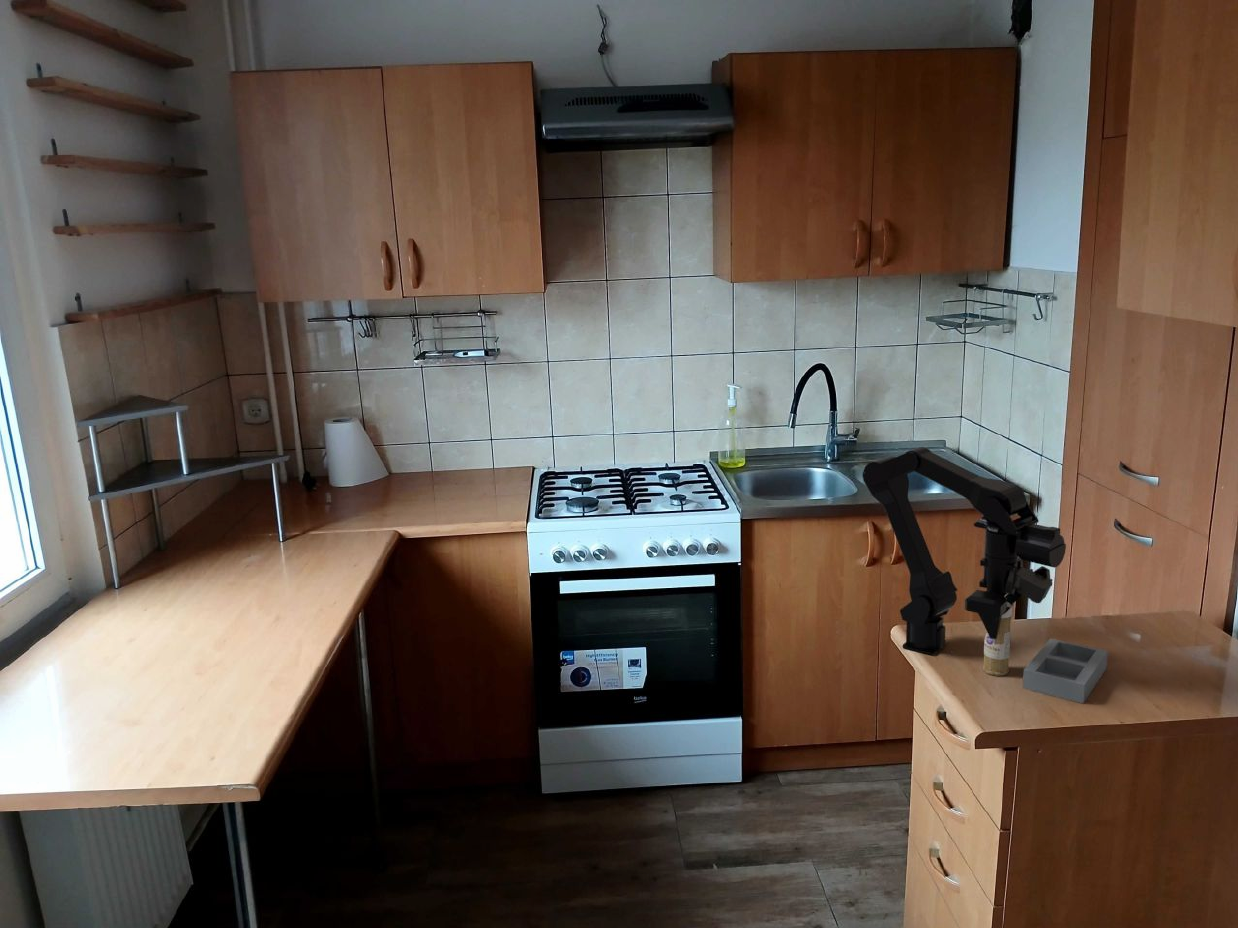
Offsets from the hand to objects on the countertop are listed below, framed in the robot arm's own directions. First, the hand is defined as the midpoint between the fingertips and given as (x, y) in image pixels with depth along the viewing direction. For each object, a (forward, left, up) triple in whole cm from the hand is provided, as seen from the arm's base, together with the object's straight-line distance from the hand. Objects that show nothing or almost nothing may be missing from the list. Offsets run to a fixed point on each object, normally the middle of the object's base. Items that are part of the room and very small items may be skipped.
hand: (997, 633), depth 170 cm
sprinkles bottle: (0, 0, -8) cm, 8 cm away
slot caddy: (+11, +4, -8) cm, 14 cm away
